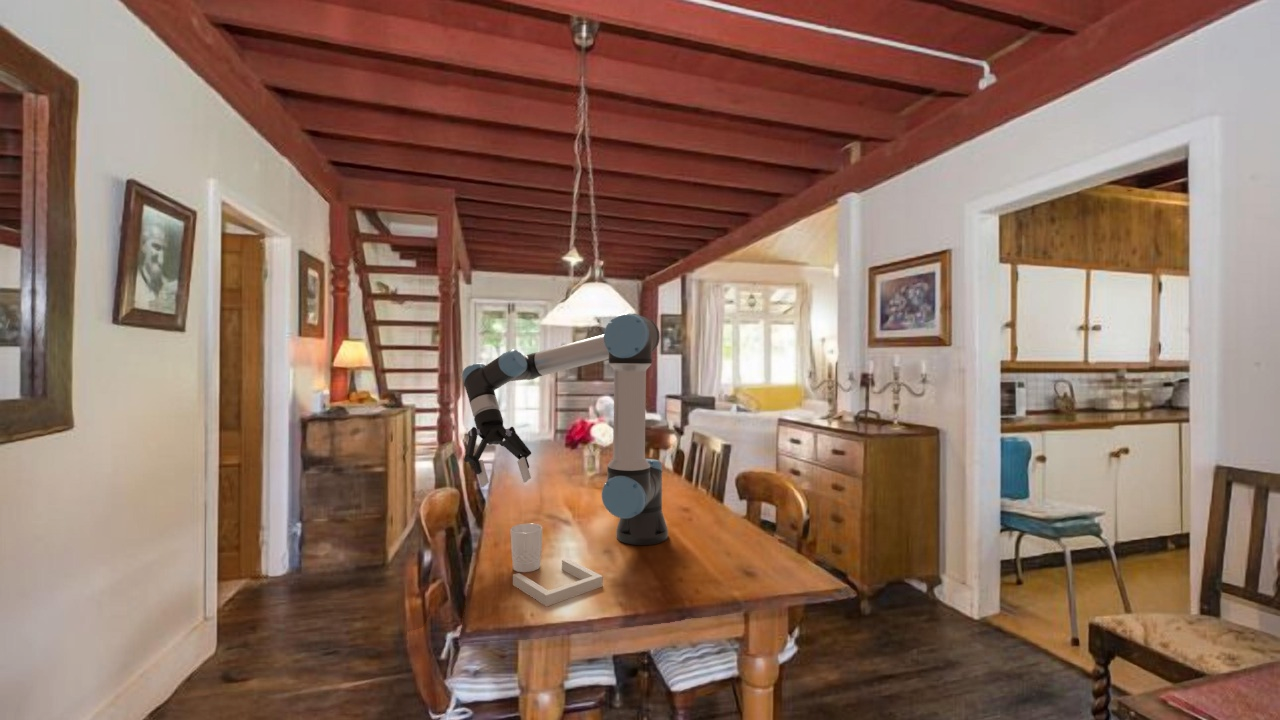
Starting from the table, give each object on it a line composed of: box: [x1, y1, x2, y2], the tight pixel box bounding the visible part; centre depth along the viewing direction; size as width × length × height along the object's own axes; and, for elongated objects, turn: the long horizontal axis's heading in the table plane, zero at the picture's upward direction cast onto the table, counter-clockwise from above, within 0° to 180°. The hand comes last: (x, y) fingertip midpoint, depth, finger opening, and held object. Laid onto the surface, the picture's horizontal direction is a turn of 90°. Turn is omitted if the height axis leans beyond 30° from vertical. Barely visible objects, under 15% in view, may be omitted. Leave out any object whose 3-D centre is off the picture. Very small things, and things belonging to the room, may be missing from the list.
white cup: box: [510, 522, 543, 573], centre depth 138 cm, size 8×8×10 cm
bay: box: [512, 558, 604, 607], centre depth 127 cm, size 15×15×2 cm
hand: (507, 482), depth 147 cm, fingers open, 13 cm apart
